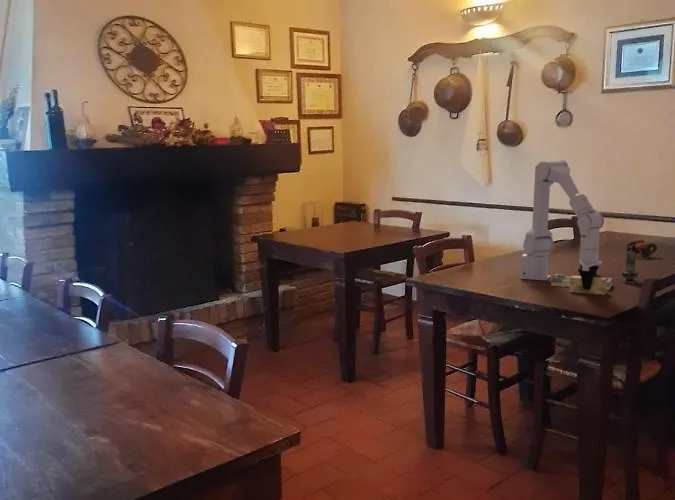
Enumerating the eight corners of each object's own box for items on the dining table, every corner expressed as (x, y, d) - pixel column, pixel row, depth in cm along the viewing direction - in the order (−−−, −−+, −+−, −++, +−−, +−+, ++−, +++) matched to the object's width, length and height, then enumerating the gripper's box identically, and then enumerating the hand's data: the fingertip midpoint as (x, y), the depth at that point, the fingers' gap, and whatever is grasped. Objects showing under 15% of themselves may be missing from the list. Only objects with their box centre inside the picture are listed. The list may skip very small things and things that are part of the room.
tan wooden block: (569, 291, 228) (570, 277, 227) (571, 289, 231) (572, 275, 230) (604, 294, 222) (604, 280, 222) (605, 292, 226) (606, 278, 225)
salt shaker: (640, 283, 237) (642, 250, 235) (622, 283, 238) (624, 250, 236) (636, 280, 243) (638, 247, 241) (619, 279, 244) (620, 247, 242)
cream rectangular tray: (551, 285, 238) (551, 278, 237) (556, 280, 245) (556, 273, 245) (608, 290, 229) (609, 282, 228) (612, 284, 236) (612, 277, 236)
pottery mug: (630, 260, 282) (625, 242, 285) (629, 266, 291) (624, 248, 294) (661, 253, 279) (655, 235, 282) (658, 260, 287) (653, 242, 290)
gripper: (599, 252, 216) (597, 293, 218) (605, 245, 229) (603, 284, 231) (576, 251, 219) (574, 291, 222) (583, 244, 232) (581, 282, 234)
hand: (587, 288), depth 226 cm, fingers closed on tan wooden block, 4 cm apart
